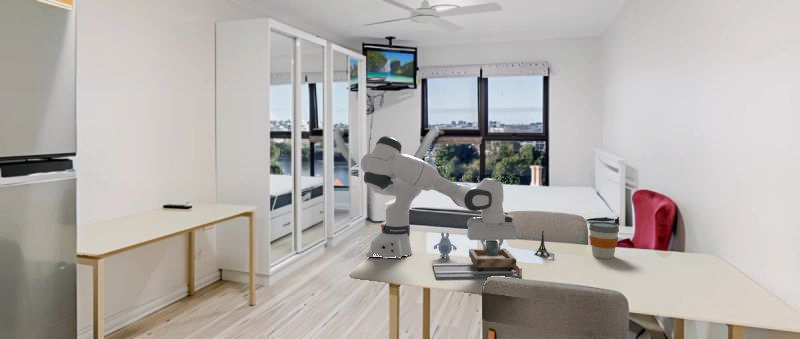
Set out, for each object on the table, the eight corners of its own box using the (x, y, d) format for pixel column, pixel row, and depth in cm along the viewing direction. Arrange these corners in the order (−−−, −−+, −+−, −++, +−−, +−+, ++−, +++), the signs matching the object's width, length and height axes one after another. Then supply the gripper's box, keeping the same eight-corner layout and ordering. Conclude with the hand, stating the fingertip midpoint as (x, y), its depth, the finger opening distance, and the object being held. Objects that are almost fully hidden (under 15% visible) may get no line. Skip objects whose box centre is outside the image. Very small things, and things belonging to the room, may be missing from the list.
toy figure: (432, 259, 197) (432, 233, 196) (434, 255, 203) (434, 230, 202) (455, 260, 195) (456, 234, 194) (457, 256, 201) (457, 231, 200)
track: (436, 279, 170) (436, 269, 170) (432, 265, 188) (432, 256, 188) (521, 278, 171) (522, 268, 170) (509, 264, 189) (509, 255, 188)
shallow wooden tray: (476, 273, 171) (476, 260, 171) (469, 261, 187) (469, 249, 187) (516, 272, 172) (516, 259, 171) (505, 261, 188) (505, 248, 187)
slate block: (487, 256, 177) (488, 242, 176) (485, 253, 181) (485, 239, 180) (497, 256, 177) (497, 241, 176) (495, 253, 181) (495, 239, 180)
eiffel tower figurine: (554, 262, 193) (555, 233, 192) (530, 259, 197) (531, 231, 196) (555, 253, 207) (555, 226, 206) (533, 251, 211) (533, 224, 210)
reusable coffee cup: (611, 252, 206) (612, 221, 205) (622, 260, 194) (623, 227, 192) (584, 251, 207) (585, 221, 206) (593, 259, 195) (594, 227, 194)
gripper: (468, 218, 174) (468, 252, 175) (518, 218, 175) (517, 251, 176) (465, 215, 181) (465, 248, 182) (514, 215, 181) (513, 247, 182)
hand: (491, 249), depth 179 cm, fingers closed on slate block, 4 cm apart
